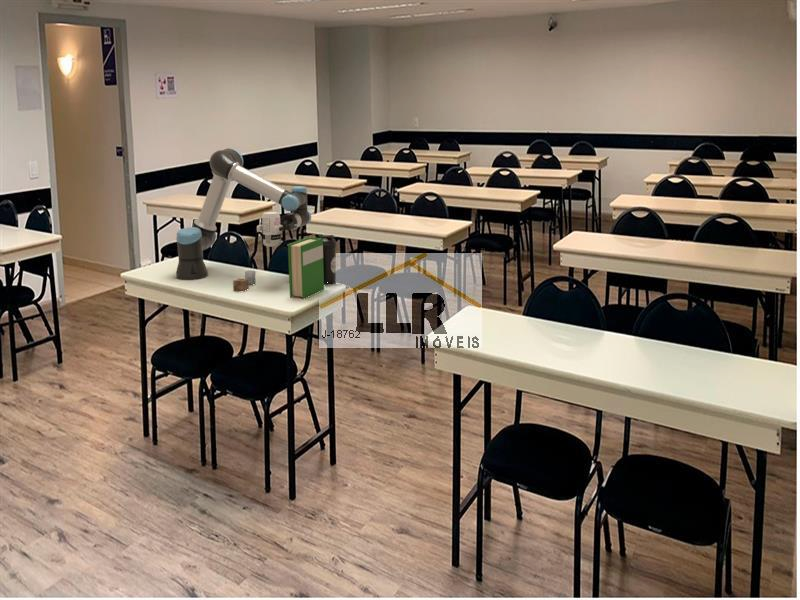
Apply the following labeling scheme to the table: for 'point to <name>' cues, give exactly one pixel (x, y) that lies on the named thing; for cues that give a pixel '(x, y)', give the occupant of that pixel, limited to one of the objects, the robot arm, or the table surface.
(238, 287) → the walnut block
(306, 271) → the hardback book
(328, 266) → the water bottle
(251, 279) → the grey plastic tub
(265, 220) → the supplement can
